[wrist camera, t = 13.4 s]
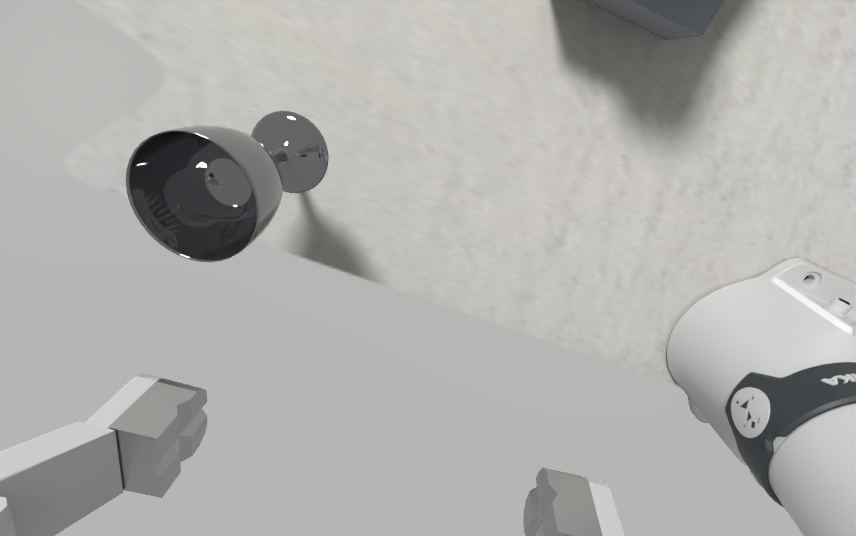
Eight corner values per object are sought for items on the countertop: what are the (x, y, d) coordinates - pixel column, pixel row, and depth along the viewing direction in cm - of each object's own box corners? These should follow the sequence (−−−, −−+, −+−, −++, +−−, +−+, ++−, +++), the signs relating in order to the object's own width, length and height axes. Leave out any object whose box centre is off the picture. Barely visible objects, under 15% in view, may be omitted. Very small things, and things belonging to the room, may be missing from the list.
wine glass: (333, 111, 38) (253, 139, 24) (332, 201, 41) (261, 270, 28) (242, 100, 38) (113, 122, 24) (248, 190, 41) (138, 253, 28)
